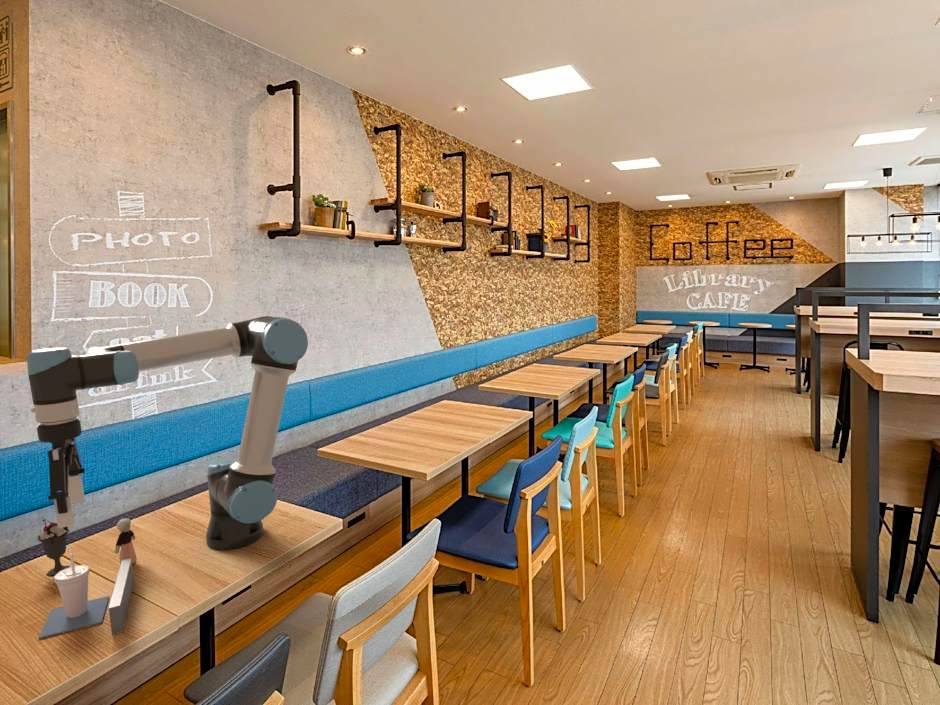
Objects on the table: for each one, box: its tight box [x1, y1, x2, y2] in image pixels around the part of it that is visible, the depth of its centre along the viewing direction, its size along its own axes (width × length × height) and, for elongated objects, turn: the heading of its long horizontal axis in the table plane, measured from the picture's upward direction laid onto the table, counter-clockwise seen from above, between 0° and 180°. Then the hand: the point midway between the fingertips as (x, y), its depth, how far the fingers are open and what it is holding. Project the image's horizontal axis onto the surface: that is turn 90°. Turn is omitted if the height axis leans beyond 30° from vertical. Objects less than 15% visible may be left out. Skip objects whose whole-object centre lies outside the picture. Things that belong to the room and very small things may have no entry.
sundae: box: [36, 518, 71, 576], centre depth 140 cm, size 7×7×15 cm
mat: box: [38, 595, 110, 640], centre depth 121 cm, size 11×11×1 cm
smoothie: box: [53, 552, 90, 618], centre depth 121 cm, size 6×6×14 cm
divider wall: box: [108, 559, 135, 635], centre depth 124 cm, size 2×22×6 cm, turn 26°
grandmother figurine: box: [114, 518, 138, 569], centre depth 142 cm, size 8×4×13 cm, turn 12°
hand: (72, 514), depth 120 cm, fingers open, 13 cm apart
